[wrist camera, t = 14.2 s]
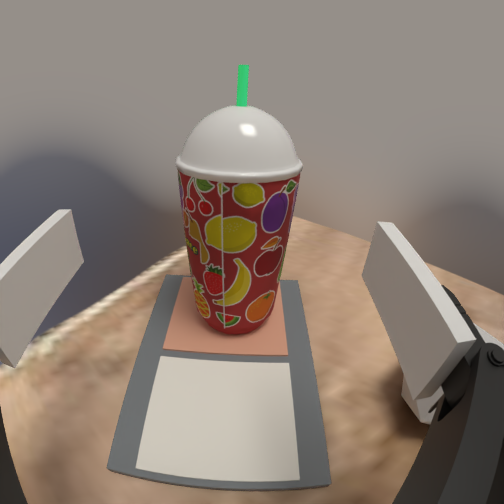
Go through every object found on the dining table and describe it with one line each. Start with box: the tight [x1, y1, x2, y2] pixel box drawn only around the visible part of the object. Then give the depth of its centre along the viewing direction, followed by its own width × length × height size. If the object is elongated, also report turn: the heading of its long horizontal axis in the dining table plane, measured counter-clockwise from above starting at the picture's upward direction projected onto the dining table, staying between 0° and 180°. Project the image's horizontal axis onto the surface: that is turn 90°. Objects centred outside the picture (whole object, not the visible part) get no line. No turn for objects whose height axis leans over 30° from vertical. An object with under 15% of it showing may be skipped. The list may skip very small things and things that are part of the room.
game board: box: [107, 275, 331, 491], centre depth 22 cm, size 14×21×1 cm, turn 0°
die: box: [401, 323, 504, 424], centre depth 16 cm, size 8×9×10 cm
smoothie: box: [176, 65, 303, 335], centre depth 21 cm, size 8×8×20 cm
